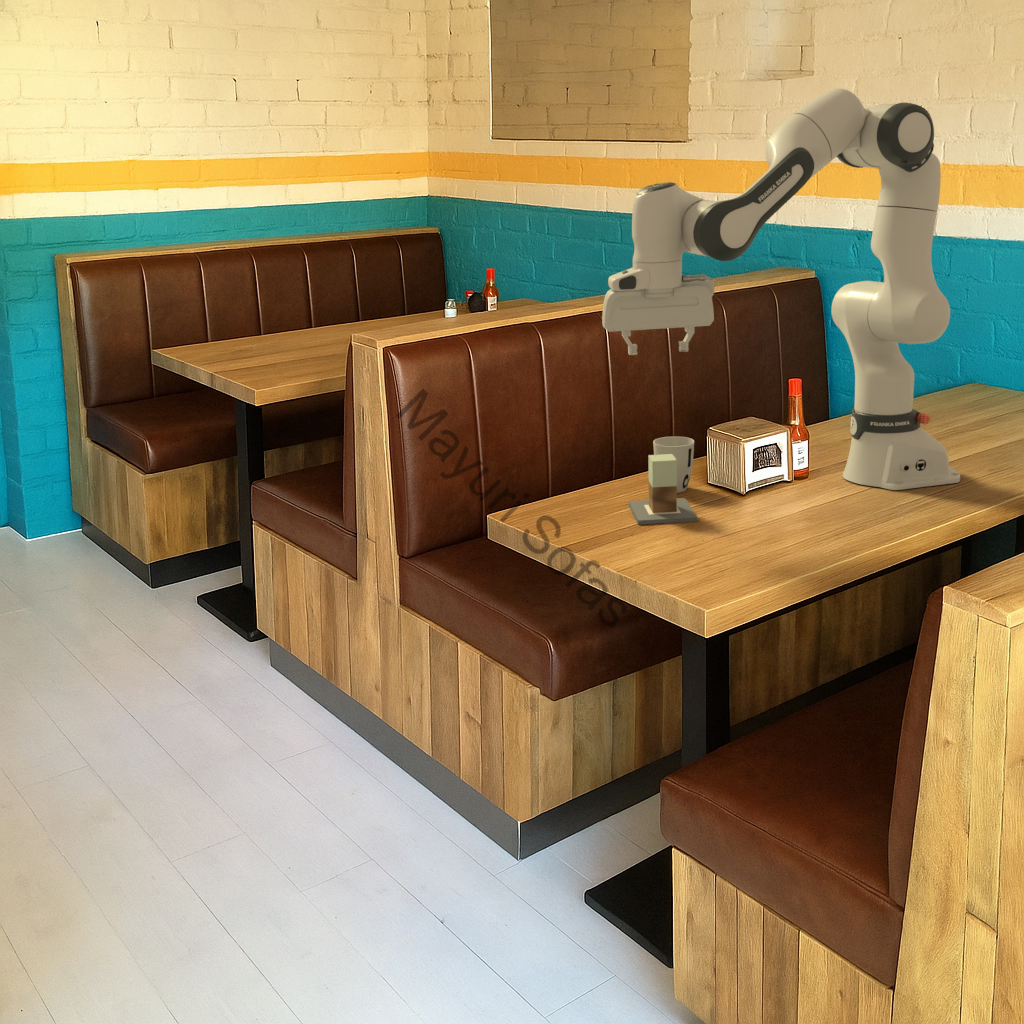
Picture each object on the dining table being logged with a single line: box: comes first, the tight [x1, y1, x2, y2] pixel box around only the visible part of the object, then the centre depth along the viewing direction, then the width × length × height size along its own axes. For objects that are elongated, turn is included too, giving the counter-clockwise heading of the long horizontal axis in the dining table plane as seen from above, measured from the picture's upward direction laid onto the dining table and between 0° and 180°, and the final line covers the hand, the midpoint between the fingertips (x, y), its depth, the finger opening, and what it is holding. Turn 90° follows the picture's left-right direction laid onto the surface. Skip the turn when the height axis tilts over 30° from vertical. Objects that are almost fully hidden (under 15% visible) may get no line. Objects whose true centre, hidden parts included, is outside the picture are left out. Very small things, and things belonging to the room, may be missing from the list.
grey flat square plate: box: [628, 497, 699, 525], centre depth 214 cm, size 11×12×1 cm
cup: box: [652, 436, 695, 494], centre depth 227 cm, size 8×8×10 cm
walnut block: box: [648, 481, 678, 513], centre depth 213 cm, size 4×4×5 cm
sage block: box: [647, 454, 677, 487], centre depth 212 cm, size 4×4×5 cm
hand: (658, 352), depth 209 cm, fingers open, 8 cm apart
